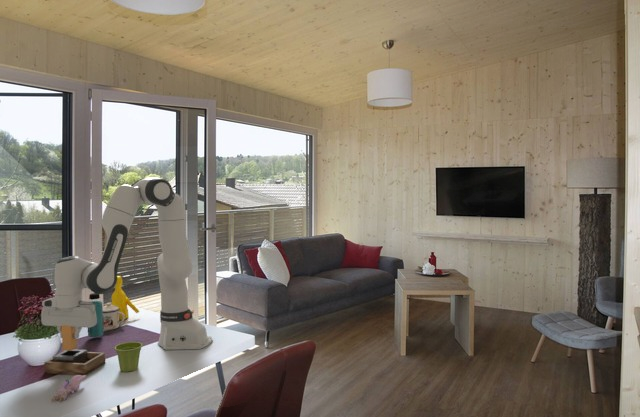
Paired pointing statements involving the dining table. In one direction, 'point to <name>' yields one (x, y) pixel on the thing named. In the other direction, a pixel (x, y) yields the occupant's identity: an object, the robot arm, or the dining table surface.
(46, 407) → the dining table surface
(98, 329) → the beverage bottle
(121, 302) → the figure statuette
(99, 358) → the crate
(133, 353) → the plant pot
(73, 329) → the orange square peg
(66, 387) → the rabbit figure
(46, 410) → the dining table surface
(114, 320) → the teacup with lid
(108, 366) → the dining table surface
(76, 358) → the socket
